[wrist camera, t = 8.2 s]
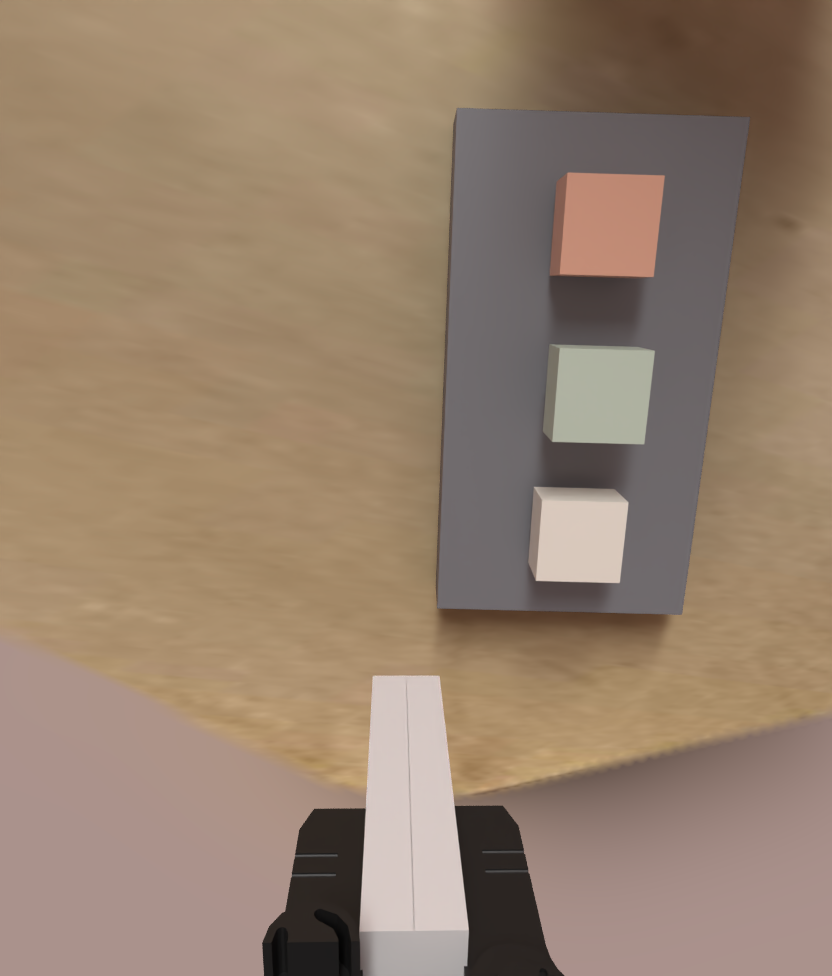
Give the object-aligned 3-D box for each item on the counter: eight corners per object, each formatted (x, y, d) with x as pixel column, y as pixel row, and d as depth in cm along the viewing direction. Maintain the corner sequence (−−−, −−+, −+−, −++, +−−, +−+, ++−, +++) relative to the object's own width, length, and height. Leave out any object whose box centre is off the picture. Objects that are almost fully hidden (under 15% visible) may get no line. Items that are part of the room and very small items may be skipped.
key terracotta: (538, 277, 35) (559, 274, 30) (544, 190, 34) (567, 172, 29) (619, 279, 35) (653, 277, 30) (627, 193, 34) (664, 175, 29)
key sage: (532, 420, 36) (552, 441, 31) (538, 340, 35) (559, 348, 30) (611, 423, 36) (644, 444, 31) (619, 342, 35) (655, 350, 30)
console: (435, 585, 41) (437, 608, 38) (453, 123, 34) (456, 108, 31) (662, 592, 41) (682, 614, 38) (722, 132, 34) (750, 117, 31)
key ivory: (520, 543, 39) (535, 580, 34) (524, 472, 38) (542, 500, 33) (592, 545, 39) (619, 583, 34) (599, 474, 38) (628, 502, 33)
